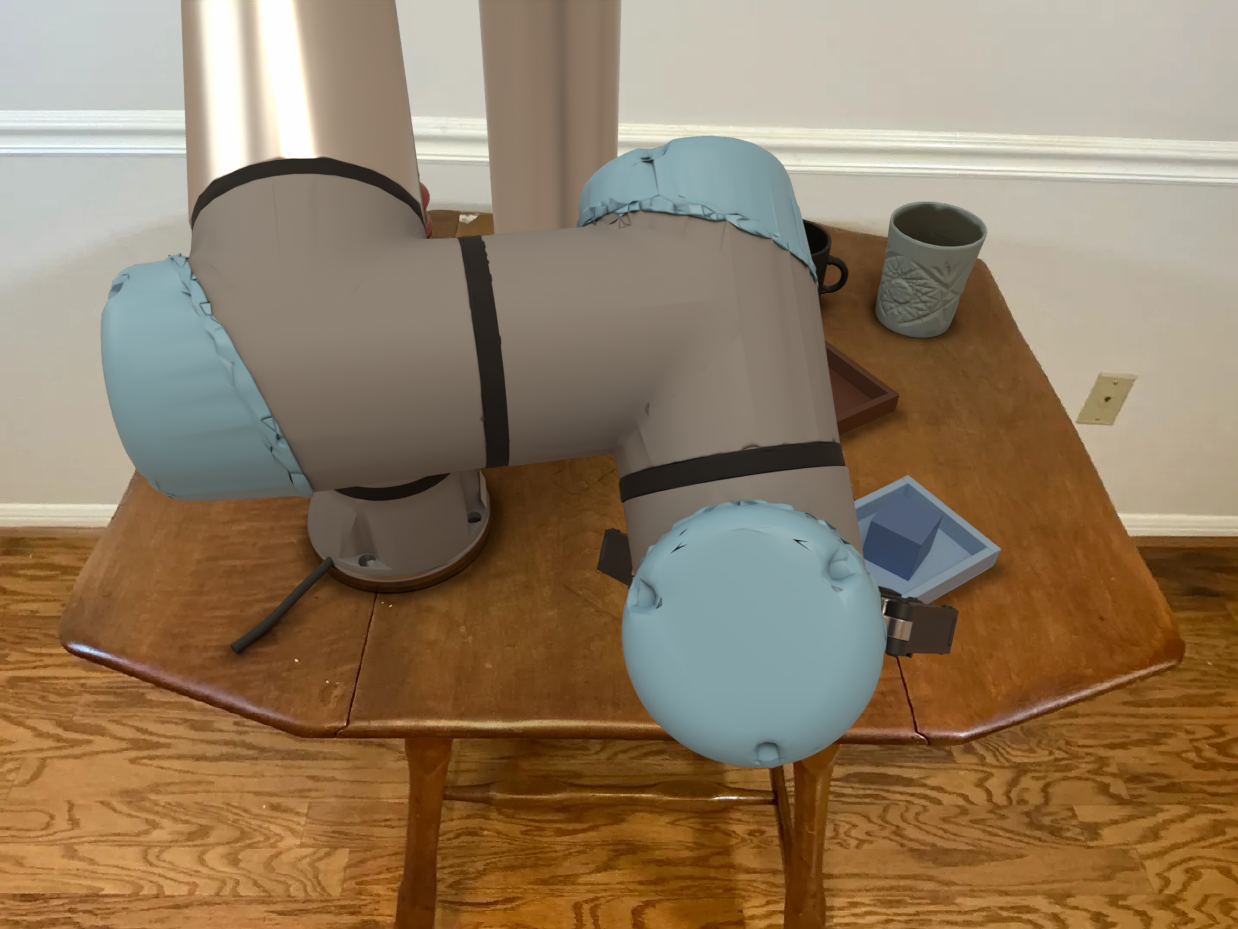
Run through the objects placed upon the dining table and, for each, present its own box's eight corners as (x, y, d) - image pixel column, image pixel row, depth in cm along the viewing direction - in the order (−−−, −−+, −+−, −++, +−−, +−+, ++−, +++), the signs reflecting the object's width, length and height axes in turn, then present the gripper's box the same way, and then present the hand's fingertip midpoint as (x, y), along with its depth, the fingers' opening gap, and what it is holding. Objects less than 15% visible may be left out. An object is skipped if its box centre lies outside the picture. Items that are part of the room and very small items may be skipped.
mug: (841, 335, 106) (857, 264, 100) (734, 324, 107) (743, 252, 101) (839, 291, 113) (854, 222, 107) (738, 281, 114) (747, 211, 108)
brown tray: (766, 471, 88) (770, 450, 87) (682, 394, 97) (683, 374, 95) (894, 414, 95) (900, 394, 94) (805, 347, 104) (808, 327, 102)
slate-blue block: (908, 581, 78) (921, 545, 75) (860, 557, 80) (870, 520, 77) (930, 551, 81) (943, 514, 78) (882, 527, 82) (894, 491, 80)
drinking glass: (945, 296, 112) (974, 202, 104) (967, 345, 105) (999, 248, 97) (860, 293, 112) (882, 199, 104) (876, 341, 105) (901, 244, 97)
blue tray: (884, 632, 75) (891, 611, 73) (796, 547, 81) (801, 526, 79) (992, 570, 80) (1001, 549, 78) (901, 495, 86) (908, 474, 85)
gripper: (475, 620, 43) (578, 594, 64) (1050, 770, 38) (959, 688, 59) (512, 459, 43) (603, 485, 64) (1088, 587, 38) (984, 571, 59)
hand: (773, 583), depth 61 cm, fingers open, 13 cm apart
